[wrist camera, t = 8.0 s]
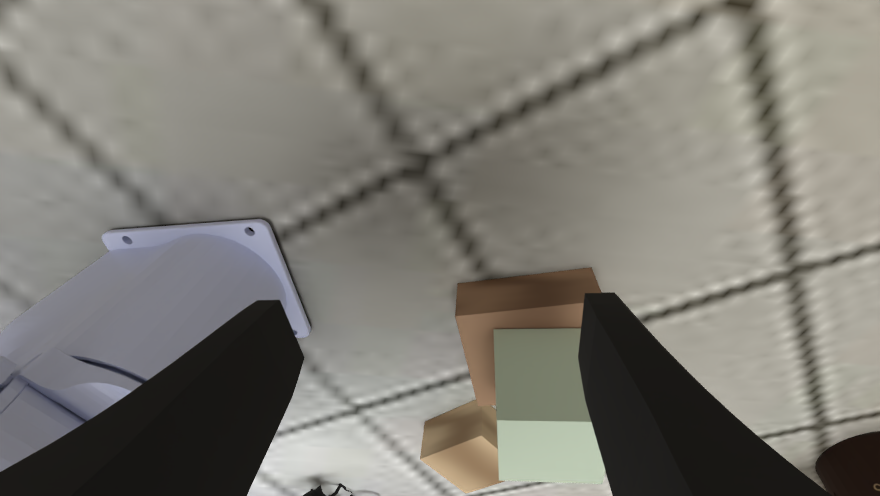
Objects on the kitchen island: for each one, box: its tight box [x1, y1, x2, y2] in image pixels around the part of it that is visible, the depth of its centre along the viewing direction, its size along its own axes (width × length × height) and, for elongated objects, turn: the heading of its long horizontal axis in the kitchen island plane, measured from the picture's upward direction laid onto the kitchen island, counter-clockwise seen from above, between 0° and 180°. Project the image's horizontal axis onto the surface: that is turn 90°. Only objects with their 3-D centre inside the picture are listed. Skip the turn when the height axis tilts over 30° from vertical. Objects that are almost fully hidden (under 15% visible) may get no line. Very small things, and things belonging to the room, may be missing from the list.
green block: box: [493, 328, 605, 484], centre depth 19 cm, size 4×4×5 cm
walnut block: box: [455, 268, 601, 406], centre depth 22 cm, size 7×7×3 cm
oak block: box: [420, 400, 504, 493], centre depth 28 cm, size 5×5×3 cm
